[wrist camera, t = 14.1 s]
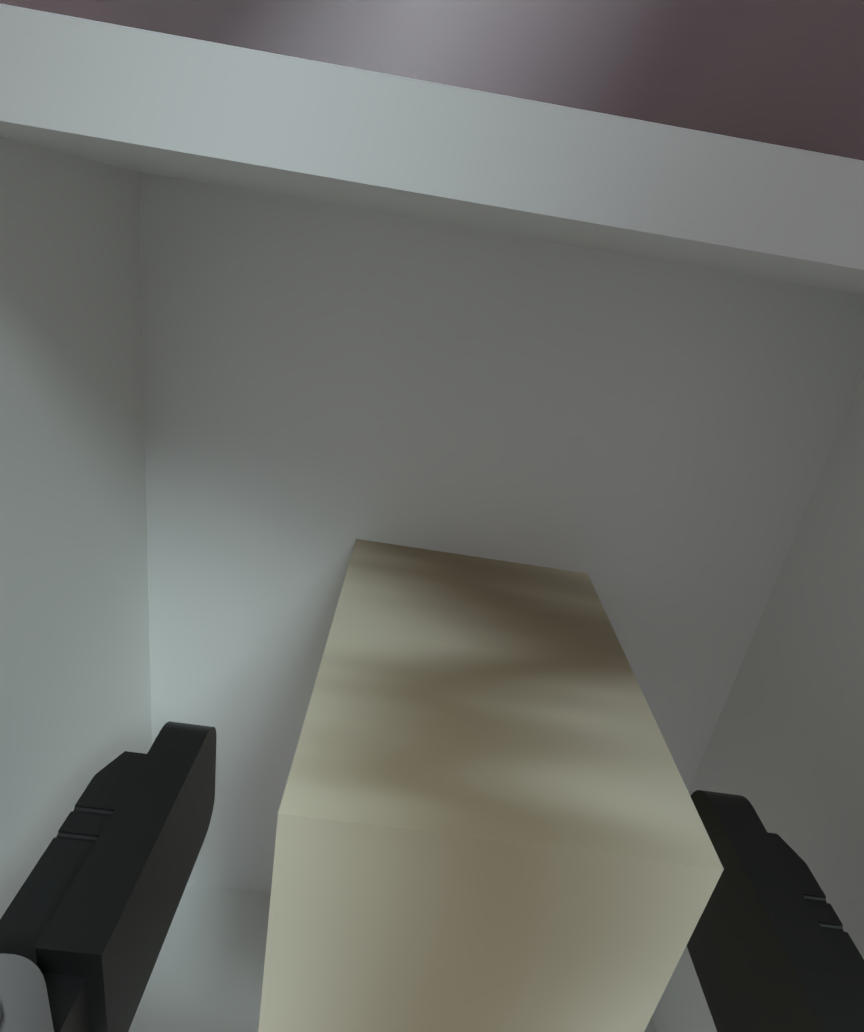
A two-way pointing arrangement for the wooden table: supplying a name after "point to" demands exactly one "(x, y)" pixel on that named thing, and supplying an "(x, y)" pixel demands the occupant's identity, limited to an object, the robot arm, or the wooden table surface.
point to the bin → (407, 432)
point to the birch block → (478, 814)
